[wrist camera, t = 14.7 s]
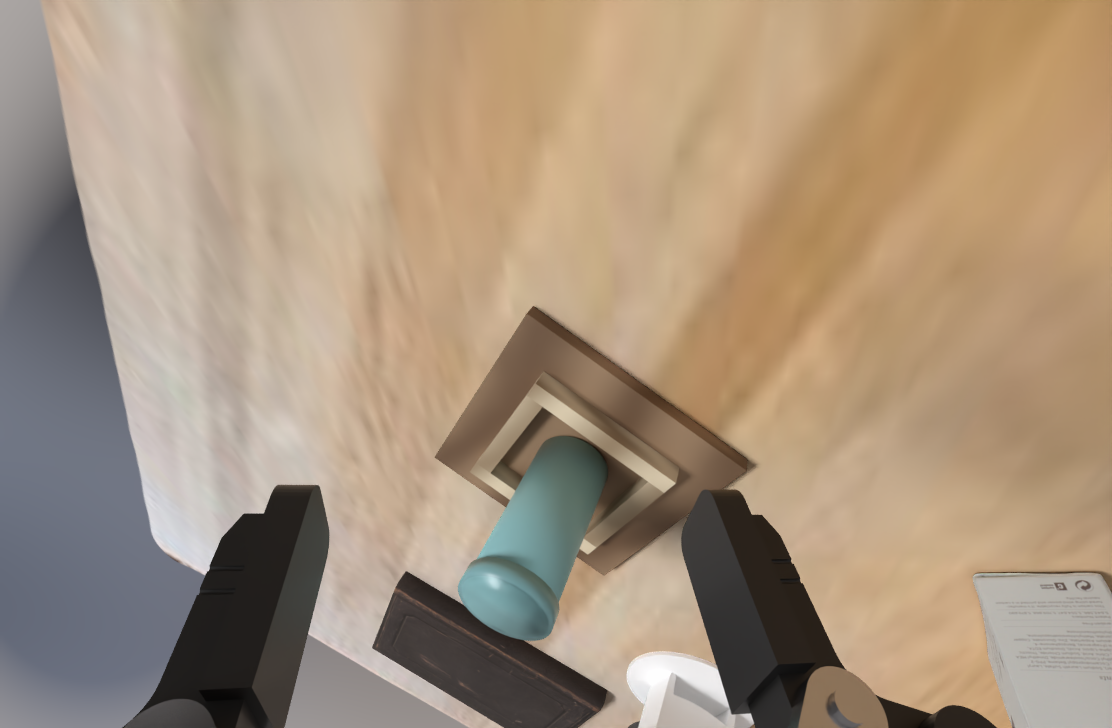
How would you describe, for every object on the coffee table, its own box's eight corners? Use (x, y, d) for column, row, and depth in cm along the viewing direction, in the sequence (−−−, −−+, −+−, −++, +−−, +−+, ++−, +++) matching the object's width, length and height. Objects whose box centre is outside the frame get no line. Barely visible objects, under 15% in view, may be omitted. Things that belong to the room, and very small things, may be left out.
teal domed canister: (522, 460, 38) (443, 595, 30) (560, 419, 35) (483, 559, 26) (583, 504, 39) (522, 650, 30) (627, 469, 35) (571, 622, 27)
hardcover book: (552, 731, 63) (545, 752, 61) (383, 629, 64) (371, 648, 62) (609, 684, 53) (603, 708, 51) (409, 566, 54) (396, 585, 53)
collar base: (441, 448, 42) (425, 469, 40) (533, 306, 32) (517, 324, 30) (607, 565, 43) (599, 591, 41) (747, 459, 33) (745, 487, 31)
